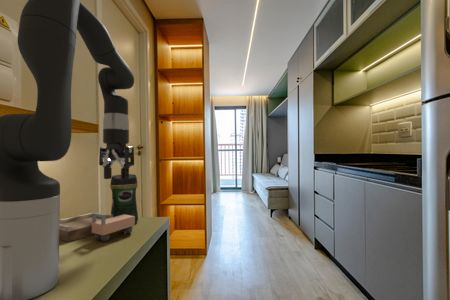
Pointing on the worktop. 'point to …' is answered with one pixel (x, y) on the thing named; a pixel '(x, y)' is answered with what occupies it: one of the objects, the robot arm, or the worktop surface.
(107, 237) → the tan board with wheels
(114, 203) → the coffee jar
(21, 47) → the robot arm
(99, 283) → the worktop surface
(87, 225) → the dock
